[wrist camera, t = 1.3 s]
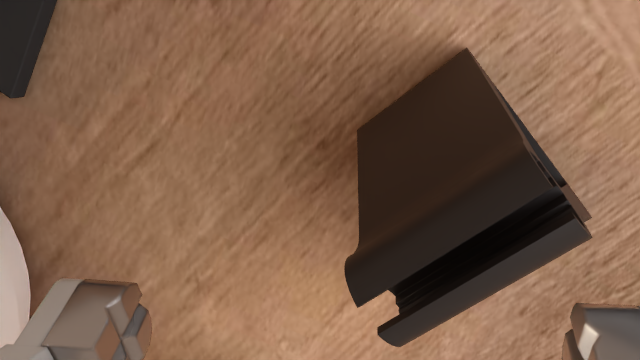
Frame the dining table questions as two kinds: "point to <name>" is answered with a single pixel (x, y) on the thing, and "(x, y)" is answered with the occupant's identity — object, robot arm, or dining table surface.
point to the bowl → (12, 285)
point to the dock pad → (21, 41)
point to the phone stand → (454, 201)
